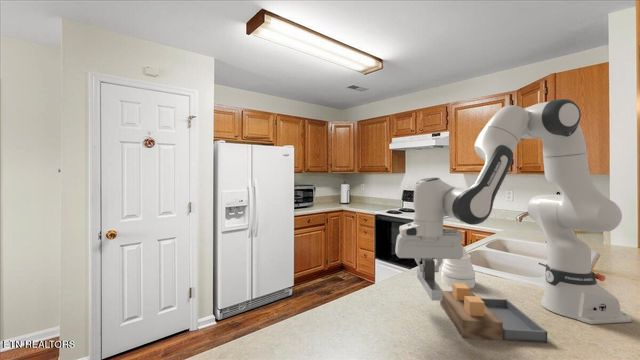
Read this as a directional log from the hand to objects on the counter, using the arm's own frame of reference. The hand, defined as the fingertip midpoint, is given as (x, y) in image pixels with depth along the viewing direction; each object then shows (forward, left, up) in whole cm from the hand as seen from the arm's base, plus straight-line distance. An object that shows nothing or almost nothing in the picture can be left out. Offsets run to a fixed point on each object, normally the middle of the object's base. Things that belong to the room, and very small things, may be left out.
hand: (428, 271), depth 89 cm
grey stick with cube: (0, 0, -5) cm, 5 cm away
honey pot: (-21, -32, -15) cm, 41 cm away
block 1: (-12, -5, -10) cm, 16 cm away
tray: (-23, 0, -15) cm, 28 cm away
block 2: (-12, +5, -10) cm, 16 cm away
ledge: (-12, 0, -15) cm, 19 cm away
